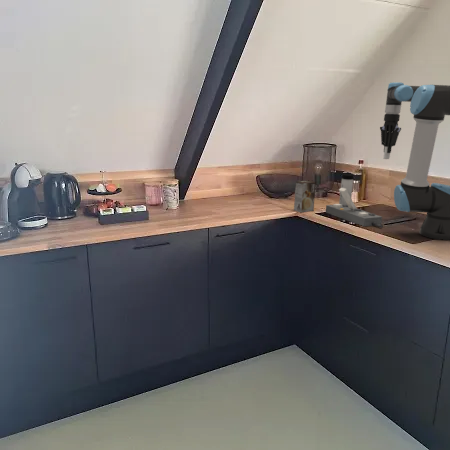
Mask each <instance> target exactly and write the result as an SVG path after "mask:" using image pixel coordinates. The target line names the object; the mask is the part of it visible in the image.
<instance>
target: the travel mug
mask: <svg viewBox="0 0 450 450" xmlns="http://www.w3.org/2000/svg"><path fill="white" fill-rule="evenodd" d="M354 175H355V174H354V173H351V172H348V171H346V172H343V173H342V175H341V182H340V183H341V184H340V188H345V189H347V191H348V194H349V195H350V197H351V198H352V194H353V184H354ZM338 201H339V202H338V204H344V205H347V203H346V201H345V199H344V198H343V196H342V194H341V193H340V192H339V200H338Z"/></svg>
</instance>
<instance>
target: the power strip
mask: <svg viewBox="0 0 450 450" xmlns="http://www.w3.org/2000/svg"><path fill="white" fill-rule="evenodd" d="M325 206H326V207H325V213H326V214H329V215H332V216H333V217H334V216H335V217H336V218H337V217H338V218H340V219H342V220H345V221H348V222H350V223H354V224H355V225H358V224H359V226H361V225H362V226H361V227H370V226H374V227H378V228H381V229H382V228H384V226H383V225H382V221H383V216H381V215H377V214H376V213H373V212H372V213H371V212H368V211H365V210H363V209H361V208H357V210H356V211H354V210H351V209H349V207H348V205H344V204H339V203H333V204H326V205H325Z"/></svg>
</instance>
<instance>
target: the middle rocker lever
mask: <svg viewBox="0 0 450 450" xmlns="http://www.w3.org/2000/svg"><path fill="white" fill-rule="evenodd" d="M338 191H339V194H340V193H341V194H342V196H343V198H344V199H345V201H346V203H347V205H348V207H349V209H351V210H354V211H356V210H357V209H358V208H357V206H356V204H355V203H354V201H353V200H352V196H351V197H350V195H349V194H348V191H347V189H345V188H341V187H340V188H339V189H338Z"/></svg>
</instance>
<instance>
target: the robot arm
mask: <svg viewBox="0 0 450 450" xmlns="http://www.w3.org/2000/svg"><path fill="white" fill-rule="evenodd" d="M402 102H404V103H405V102H408V103H410V108H409V111H410V113H411V114H412V115H413V117H412V118H413V120H414V121H415V129H414V132H413V133H414V134H413V139H412V143H411V149H410V153H409V159H408V164H407V168H406V169H407V170H406V174H405V177H404V178H402V179H401V181H400V184H397V185H395V188H394V189H393V199H394V204H395V207H396V209H397V210H398V211H400V212H406V213H426V217H425V218H424V220H423V222H422V224H421V226H420V228H419V234H420V235H421V236H423V237H426V238H430V239H432V240H433V239H434V240H440V239H443V240H442V241H450V185H448V184H443V183H438V182H431V185H430V182H429V181H428V176H429V172H430V168H431V162H432V158H433V153H434V148H435V143H436V138H437V133H438V129H439V125H440V124H441V123H442V122H444V120H445V117H446V116H450V85H443V84H423V85H407V84H404V82H396V81H395V82H390V83H388V87H387V93H386V102H385V109H384V113H385V114H384V116H383V121H384V123H383V125H382V126H380V127H379V130H380V140H381V141H380V142H381V145H382V146H383V160H390V157H391V153H392V147H395V146H396V144H397V141H398V139H399V138H398V137H399V134H400V133H401V130H402V127H399V121H400V116H401V115H400V113H401V110H402V109H401V107H402Z"/></svg>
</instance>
